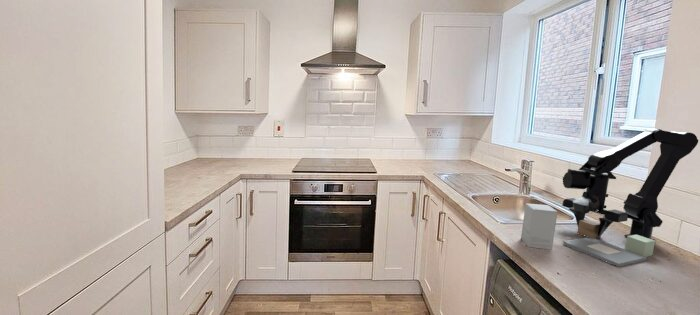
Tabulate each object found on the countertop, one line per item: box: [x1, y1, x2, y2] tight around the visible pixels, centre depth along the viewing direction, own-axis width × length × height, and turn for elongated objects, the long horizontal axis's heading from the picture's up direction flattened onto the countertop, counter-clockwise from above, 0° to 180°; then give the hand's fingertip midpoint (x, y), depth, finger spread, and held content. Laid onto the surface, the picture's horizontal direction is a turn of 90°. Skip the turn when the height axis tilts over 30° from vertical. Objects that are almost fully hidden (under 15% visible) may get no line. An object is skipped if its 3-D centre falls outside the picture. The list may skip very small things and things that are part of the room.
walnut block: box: [576, 218, 602, 239], centre depth 117 cm, size 5×5×5 cm
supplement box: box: [520, 202, 558, 250], centre depth 106 cm, size 7×7×13 cm
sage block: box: [624, 235, 656, 258], centre depth 103 cm, size 5×5×5 cm
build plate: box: [562, 237, 648, 268], centre depth 103 cm, size 14×16×1 cm
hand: (589, 232), depth 117 cm, fingers open, 6 cm apart
